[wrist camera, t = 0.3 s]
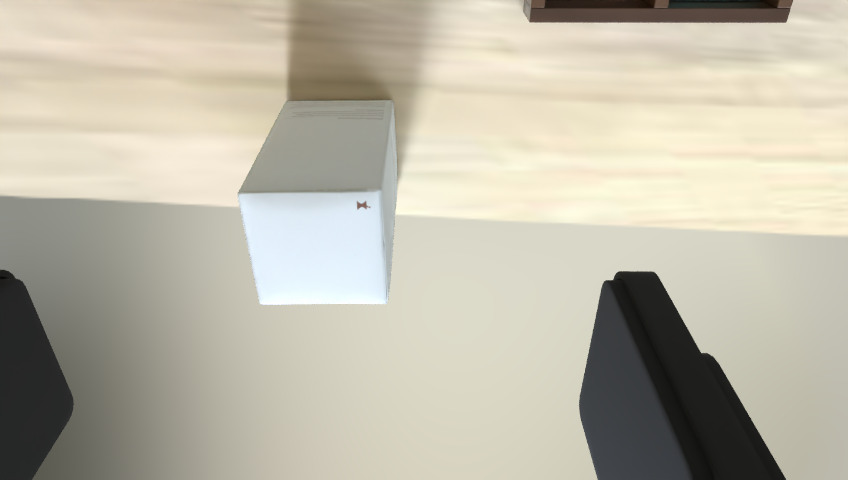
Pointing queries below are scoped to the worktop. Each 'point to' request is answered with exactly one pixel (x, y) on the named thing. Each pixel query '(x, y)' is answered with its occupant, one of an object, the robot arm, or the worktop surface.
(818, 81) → the worktop surface
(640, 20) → the brown divided tray
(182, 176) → the worktop surface
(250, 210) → the white packaging box
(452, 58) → the worktop surface
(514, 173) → the worktop surface
